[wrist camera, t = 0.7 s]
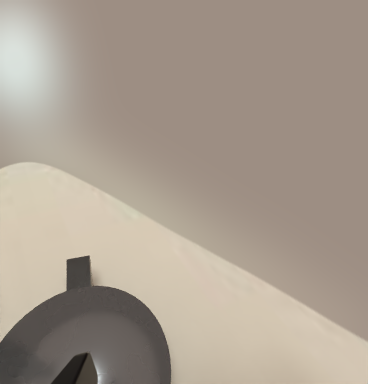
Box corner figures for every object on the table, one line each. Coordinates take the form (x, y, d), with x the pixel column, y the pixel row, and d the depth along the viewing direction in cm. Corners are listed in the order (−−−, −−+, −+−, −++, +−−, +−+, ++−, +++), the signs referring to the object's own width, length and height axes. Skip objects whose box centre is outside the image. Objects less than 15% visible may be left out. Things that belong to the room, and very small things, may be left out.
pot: (198, 528, 13) (215, 551, 11) (-31, 654, 10) (-92, 733, 8) (142, 266, 23) (143, 241, 20) (17, 291, 20) (-2, 267, 17)
